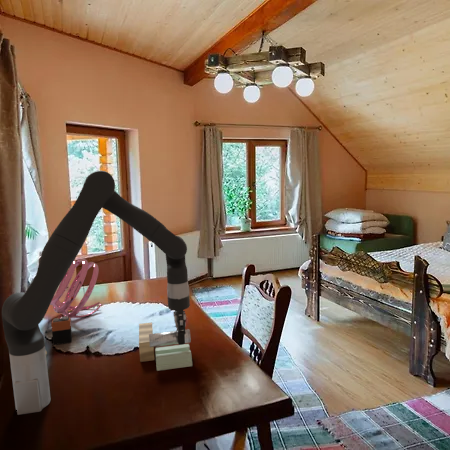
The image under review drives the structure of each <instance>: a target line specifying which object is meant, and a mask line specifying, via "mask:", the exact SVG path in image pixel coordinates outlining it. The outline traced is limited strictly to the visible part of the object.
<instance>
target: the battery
mask: <svg viewBox="0 0 450 450" xmlns="http://www.w3.org/2000/svg"><path fill="white" fill-rule="evenodd" d="M71 319H72V318H70V317H67V316H65V317H64V316H62V317H61V318H57V317H56V318H53V319H52V321H51V323H50V324H51V325H50V326H51V333H52V344H53V345H54V346H55V345H62V343H63V344H68V343H72V339H73V333H72V321H71Z"/></svg>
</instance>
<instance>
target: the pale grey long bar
mask: <svg viewBox="0 0 450 450" xmlns="http://www.w3.org/2000/svg"><path fill="white" fill-rule="evenodd" d="M179 331H183V330H179ZM185 332H186V333H185V344H189V343H191V340H192V339H191V330H190V329H189V328H187V329H185ZM149 343H150V347H154V348H158V347H166V346H173V345H179V343H178V334H177V330H173V331H165V332H163V331H162V332H157V333H153V334H149Z"/></svg>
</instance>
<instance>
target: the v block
mask: <svg viewBox="0 0 450 450" xmlns="http://www.w3.org/2000/svg"><path fill="white" fill-rule="evenodd" d="M154 353H155V363H156V365H155V366H156V371H157V372H158V371H166V370H172V369H180V368H187V367H193V358H192V351H191V349H190V343H185V344H183V345H179V344H174V345H166V346H158V347H154Z"/></svg>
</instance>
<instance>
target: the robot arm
mask: <svg viewBox="0 0 450 450" xmlns="http://www.w3.org/2000/svg"><path fill="white" fill-rule="evenodd" d="M115 189H116V181H115V179H114V177H113V175H112V174H110V172H107V171H105V170H96V171H93V172H91V173H90V174H89V175H87V177H86V178H85V180H84V183H83V186H82V188H81V191H80V192H79V195H78V196H77V198H76V200H75V202H74V203H73V205H72V206H71V208H70V209H69V210H68V212H67V213H66V214H65V215H64V216H63V218H62V219H61V220H60V222H59V223H58V225H57V226H56V227H55V229H54V230H53V232H51V233H52V234H51V235H50V236H49V238H48V240H47V242H46V243H45V245H44V246H43V249H42V252H41V255H40V258H39V262H38V266H37V270H36V274H35V276H34V278H33V279H32V282H31V284H30V285H29V286H28V287H27V288H26V289H27V290H26V291H25V292H23V291H22V292H21V291H19V292H15V293H12V294H10V295H9V296H8V297H7V298H6V299H5V301H4V302H3V305H2V307H1V321H2V329H3V332H4V339H5V342H6V344H7V348H8V354H9V362H10V372H11V379H12V388H13V397H14V406H15V411H16V410H17V411H16V413H17V415H18V416H19V415H27V414H32V413H39V412H42V410H43V409H44V408H46V407H47V406H48V405H49V404H50V403H51V391H50V381H49V373H48V372H49V371H48V362H47V361H48V360H47V355H46V351H47V350H46V343H45V336H44V334H43V333H42V331H41V329H40V325H39V324H40V323H41V322H42V321H43V319H44V318H45V315H46V314H47V311H48V310H49V307H50V306H51V305H50V303H51V301H52V299H53V297H54V296H55V295H56V292H57V290H58V287H59V285H60V283H61V281H62V280H63V278H64V276H65V275H66V273H67V271H68V270H69V268H70V266H71V264H72V263H73V261H74V260H75V261H76V258H77V257H78V255H79V253H80V251H81V249H82V248H83V245H84V243H85V241H86V239H87V238H88V236H89V234H90V232H91V228H92V226H93V224H94V222H95V219H96V218H97V216H98V215H99V213H100V212H101V210H102V209H104V210H106V211H108V212H109V213H111V214H112V215H114V216H115V217H117V218H119V219H120V220H122V221H123V222H125V223H126V224H127V225H128V226H130V227H131V228H132V229H133V230H135V231H136V232H137V233H139V234H140V235H142V236H143V237H144V238H145V239H147V240H148V241H150V242H151V243H153V244H154V245H155V246H156V247H157V248H158V249H159V250H161V252H163V253H164V254H165V260H166V280H167V283H166V285H167V286H166V291H167V293H166V295H167V307H168V309H169V310H171V311H173V313H172V314H173V319H174V324H175V328H176V331H177V334H178V343H179V344H178V345H183V344H186V343H185V333H186V332H185V330H186V326H187V325H186V318H187V317H186V316H187V315H186V311H185V310H187V309H189V308H190V306H191V303H190V301H191V300H190V297H191V296H190V286H189V279H188V277H189V276H188V267H187V264H186V263H187V262H186V254H187V252H188V245H187V243H186V241H184V239H183V238H182V237H180V236H178V235H176V234H174V233H173V232H172V231H170V230H169V229H168V228H167V227H166V226H165V224H163V223H162V222H160V220H158V219H157V218H156V217H154V216H153V215H151V213H149V212H148V211H146V210H144V209H142V208H140V207H139V206H136V205H135V204H133V203H131V202H129V201H128V200H126V199H125V198H124V197H122V195H120V194H119V193H118V192H117V191H116V190H115ZM179 330H183V331H179Z"/></svg>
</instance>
